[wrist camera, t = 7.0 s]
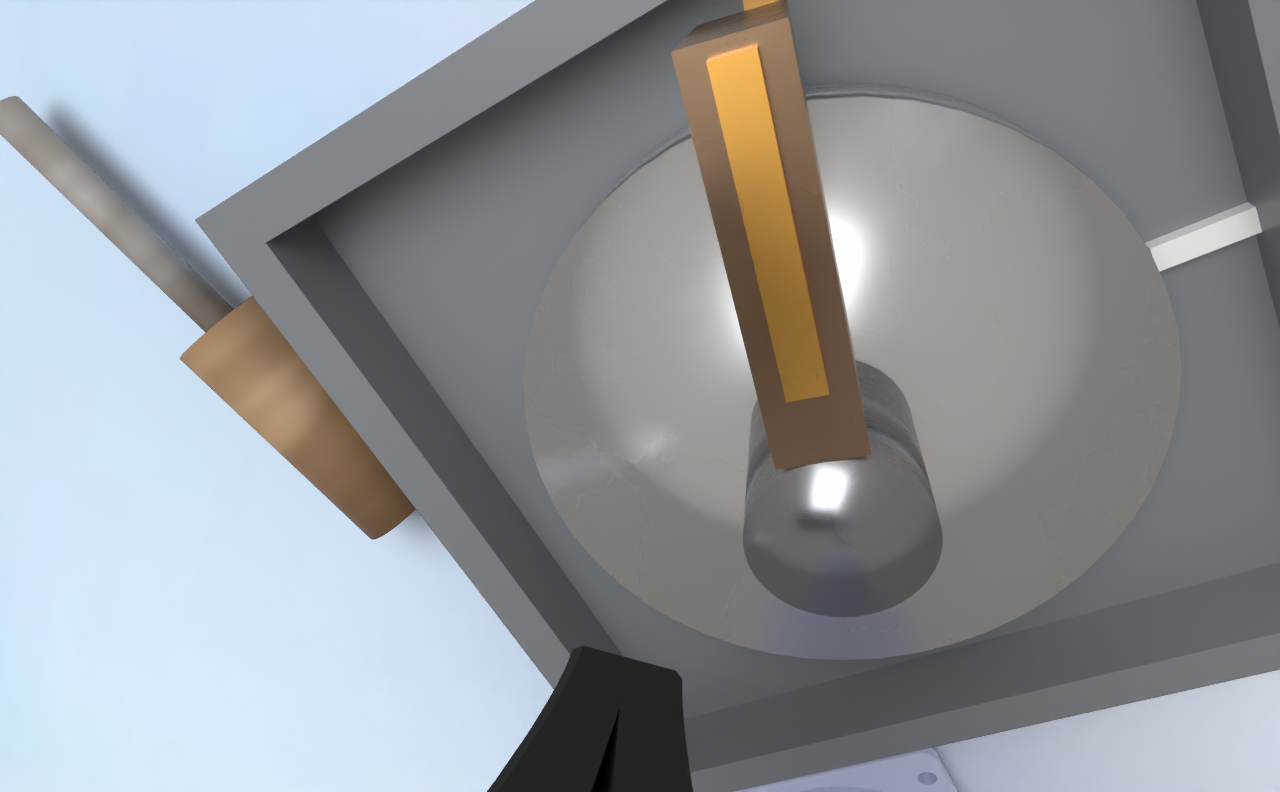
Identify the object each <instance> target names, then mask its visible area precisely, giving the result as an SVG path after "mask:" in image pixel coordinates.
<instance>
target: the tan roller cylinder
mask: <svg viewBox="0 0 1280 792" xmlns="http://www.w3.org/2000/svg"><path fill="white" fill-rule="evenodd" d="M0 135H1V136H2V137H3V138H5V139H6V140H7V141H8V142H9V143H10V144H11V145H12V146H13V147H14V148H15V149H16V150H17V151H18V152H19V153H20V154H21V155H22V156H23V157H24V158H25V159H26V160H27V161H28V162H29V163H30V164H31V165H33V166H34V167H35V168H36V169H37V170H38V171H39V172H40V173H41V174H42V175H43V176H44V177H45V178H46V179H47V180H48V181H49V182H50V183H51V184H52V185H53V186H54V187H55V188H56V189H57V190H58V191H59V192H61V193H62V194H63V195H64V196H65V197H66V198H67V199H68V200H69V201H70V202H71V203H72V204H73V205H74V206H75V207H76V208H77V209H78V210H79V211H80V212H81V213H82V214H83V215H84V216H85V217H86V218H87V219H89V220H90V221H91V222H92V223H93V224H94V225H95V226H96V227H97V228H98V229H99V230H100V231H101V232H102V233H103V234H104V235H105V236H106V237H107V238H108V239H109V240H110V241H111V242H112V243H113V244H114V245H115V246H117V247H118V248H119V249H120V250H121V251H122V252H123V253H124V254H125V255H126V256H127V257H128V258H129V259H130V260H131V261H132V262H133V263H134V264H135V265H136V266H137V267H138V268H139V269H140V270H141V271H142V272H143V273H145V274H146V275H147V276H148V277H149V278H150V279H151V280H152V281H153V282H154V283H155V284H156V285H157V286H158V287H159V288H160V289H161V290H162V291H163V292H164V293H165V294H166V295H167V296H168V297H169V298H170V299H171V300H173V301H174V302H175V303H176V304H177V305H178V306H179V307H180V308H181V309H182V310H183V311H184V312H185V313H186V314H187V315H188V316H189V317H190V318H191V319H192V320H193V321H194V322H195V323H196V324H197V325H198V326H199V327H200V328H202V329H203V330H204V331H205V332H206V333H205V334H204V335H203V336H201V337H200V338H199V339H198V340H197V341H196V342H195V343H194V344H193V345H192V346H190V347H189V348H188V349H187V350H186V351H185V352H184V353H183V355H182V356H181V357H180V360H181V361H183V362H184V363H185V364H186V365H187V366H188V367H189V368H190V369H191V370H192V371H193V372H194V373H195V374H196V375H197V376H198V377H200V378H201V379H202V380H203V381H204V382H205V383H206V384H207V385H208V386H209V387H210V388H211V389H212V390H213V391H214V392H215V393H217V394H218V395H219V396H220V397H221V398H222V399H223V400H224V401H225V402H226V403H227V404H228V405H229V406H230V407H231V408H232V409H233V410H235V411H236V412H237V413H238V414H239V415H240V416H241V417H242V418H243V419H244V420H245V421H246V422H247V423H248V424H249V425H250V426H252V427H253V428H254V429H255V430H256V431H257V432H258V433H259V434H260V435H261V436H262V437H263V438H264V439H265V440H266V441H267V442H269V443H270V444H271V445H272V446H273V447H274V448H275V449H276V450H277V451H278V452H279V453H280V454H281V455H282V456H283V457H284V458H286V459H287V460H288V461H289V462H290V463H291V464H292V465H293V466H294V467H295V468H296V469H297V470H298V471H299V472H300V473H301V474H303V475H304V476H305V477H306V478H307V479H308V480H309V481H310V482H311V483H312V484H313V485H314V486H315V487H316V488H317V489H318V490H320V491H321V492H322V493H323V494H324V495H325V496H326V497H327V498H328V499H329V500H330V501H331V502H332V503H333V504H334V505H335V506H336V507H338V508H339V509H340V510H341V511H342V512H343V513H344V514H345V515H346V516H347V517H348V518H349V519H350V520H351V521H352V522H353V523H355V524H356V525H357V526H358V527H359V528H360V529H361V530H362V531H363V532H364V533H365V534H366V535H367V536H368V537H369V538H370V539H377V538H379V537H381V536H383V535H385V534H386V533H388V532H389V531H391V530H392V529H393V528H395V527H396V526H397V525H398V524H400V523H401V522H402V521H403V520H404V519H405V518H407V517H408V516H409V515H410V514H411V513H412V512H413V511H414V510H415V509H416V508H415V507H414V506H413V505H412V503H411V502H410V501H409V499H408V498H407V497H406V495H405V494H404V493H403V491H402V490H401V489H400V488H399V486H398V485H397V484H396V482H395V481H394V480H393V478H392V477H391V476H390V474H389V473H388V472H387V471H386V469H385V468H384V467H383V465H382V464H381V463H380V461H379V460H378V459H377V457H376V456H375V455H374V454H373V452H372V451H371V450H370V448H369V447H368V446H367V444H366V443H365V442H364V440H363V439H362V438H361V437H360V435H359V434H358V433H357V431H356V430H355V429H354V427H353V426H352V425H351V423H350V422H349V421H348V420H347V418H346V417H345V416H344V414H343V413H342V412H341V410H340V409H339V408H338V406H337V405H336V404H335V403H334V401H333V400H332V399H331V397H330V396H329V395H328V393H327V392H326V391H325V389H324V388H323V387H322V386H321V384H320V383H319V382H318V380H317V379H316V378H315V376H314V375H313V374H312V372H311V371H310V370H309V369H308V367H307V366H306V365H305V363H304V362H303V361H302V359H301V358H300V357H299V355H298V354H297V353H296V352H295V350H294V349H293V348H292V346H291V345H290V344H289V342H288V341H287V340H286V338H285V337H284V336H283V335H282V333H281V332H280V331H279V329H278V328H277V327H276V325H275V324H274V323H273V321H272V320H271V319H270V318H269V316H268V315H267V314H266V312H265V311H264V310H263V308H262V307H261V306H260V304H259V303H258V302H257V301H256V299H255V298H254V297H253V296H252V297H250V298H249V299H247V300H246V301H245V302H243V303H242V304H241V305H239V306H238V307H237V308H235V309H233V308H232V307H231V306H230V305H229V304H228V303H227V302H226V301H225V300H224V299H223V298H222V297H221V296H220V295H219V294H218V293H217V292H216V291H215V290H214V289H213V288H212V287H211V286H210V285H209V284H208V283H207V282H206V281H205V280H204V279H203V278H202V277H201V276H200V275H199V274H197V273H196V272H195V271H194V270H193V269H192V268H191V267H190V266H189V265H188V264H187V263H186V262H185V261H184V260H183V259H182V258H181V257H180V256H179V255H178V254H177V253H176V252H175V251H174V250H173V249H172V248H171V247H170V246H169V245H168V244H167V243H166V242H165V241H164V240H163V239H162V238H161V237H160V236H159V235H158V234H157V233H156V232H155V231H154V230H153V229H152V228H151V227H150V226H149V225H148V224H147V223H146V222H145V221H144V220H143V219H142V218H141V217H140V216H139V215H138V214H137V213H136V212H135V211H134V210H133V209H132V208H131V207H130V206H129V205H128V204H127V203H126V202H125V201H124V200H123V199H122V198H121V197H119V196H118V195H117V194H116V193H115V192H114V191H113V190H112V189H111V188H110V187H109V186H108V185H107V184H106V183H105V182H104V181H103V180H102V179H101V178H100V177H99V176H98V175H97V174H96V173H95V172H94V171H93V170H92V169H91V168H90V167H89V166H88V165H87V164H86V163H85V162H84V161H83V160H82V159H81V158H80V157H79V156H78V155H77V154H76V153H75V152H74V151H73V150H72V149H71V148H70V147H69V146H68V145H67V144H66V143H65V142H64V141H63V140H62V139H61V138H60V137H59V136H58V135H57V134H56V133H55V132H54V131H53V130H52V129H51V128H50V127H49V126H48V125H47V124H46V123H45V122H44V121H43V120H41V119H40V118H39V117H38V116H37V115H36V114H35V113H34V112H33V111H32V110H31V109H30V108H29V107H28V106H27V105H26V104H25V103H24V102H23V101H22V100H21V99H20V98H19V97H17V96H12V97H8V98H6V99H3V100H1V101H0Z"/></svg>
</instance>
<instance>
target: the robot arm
mask: <svg viewBox="0 0 1280 792" xmlns="http://www.w3.org/2000/svg"><path fill="white" fill-rule="evenodd" d="M487 792H693V787H692V781H691V774H690V767H689V760H688V753H687V745H686V736H685V727H684V715H683V698H682V678H681V677H680V675H679V674H678V672H677V671H675V670H672V669H668V668H664V667H661V666H657V665H653V664H650V663H646V662H642V661H639V660H635V659H631V658H628V657H624V656H620V655H616V654H613V653H609V652H605V651H602V650H598V649H594V648H591V647H587V646H580V647H578V648H575V649H573V650H572V653H571V655H570V658H569V660H568V663H567V665H566V667H565V670H564V672H563V674H562V676H561V678H560V680H559V682H558V684H557V685H556V687H555V689H554V691H553V693H552V695H551V696H550V698H549V700H548V702H547V703H546V705H545V707H544V708H543V710H542V712H541V713H540V715H539V716H538V718H537V720H536V721H535V723H534V725H533V726H532V728H531V729H530V731H529V732H528V734H527V735H526V737H525V738H524V740H523V741H522V743H521V744H520V746H519V747H518V748H517V750H516V751H515V753H514V754H513V756H512V757H511V759H510V760H509V762H508V763H507V764H506V766H505V767H504V769H503V770H502V772H501V773H500V775H499V776H498V777H497V779H496V780H495V782H494V783H493V784H492V786H491V787H490V788H489V790H488V791H487ZM735 792H958V791H957V789H956V787H955V785H954V783H953V782H952V780H951V778H950V776H949V774H948V772H947V771H946V769H945V767H944V765H943V763H942V761H941V760H940V758H939V756H938V754H937V752H936V751H935V750H934V749H933V748H927V749H923V750H918V751H914V752H909V753H905V754H900V755H896V756H892V757H887V758H883V759H878V760H874V761H869V762H865V763H860V764H856V765H851V766H847V767H842V768H838V769H834V770H829V771H825V772H820V773H816V774H811V775H807V776H802V777H798V778H793V779H789V780H784V781H780V782H775V783H771V784H767V785H762V786H758V787H753V788H749V789H744V790H740V791H735Z"/></svg>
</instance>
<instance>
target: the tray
mask: <svg viewBox="0 0 1280 792" xmlns="http://www.w3.org/2000/svg"><path fill="white" fill-rule="evenodd" d="M776 1H780V0H535V1H534V2H532V3H531V4H529V5H527V6H526V7H524V8H523V9H521V10H520V11H518V12H517V13H515V14H514V15H512V16H510V17H509V18H507V19H506V20H504V21H503V22H501V23H500V24H498V25H496V26H495V27H493V28H492V29H490V30H489V31H487V32H486V33H484V34H482V35H481V36H479V37H478V38H476V39H475V40H473V41H472V42H470V43H469V44H467V45H465V46H464V47H462V48H461V49H459V50H458V51H456V52H455V53H453V54H451V55H450V56H448V57H447V58H445V59H444V60H442V61H441V62H439V63H437V64H436V65H434V66H433V67H431V68H430V69H428V70H427V71H425V72H424V73H422V74H420V75H419V76H417V77H416V78H414V79H413V80H411V81H410V82H408V83H406V84H405V85H403V86H402V87H400V88H399V89H397V90H396V91H394V92H393V93H391V94H389V95H388V96H386V97H385V98H383V99H382V100H380V101H379V102H377V103H375V104H374V105H372V106H371V107H369V108H368V109H366V110H365V111H363V112H361V113H360V114H358V115H357V116H355V117H354V118H352V119H351V120H349V121H348V122H346V123H344V124H343V125H341V126H340V127H338V128H337V129H335V130H334V131H332V132H330V133H329V134H327V135H326V136H324V137H323V138H321V139H320V140H318V141H316V142H315V143H313V144H312V145H310V146H309V147H307V148H306V149H304V150H303V151H301V152H299V153H298V154H296V155H295V156H293V157H292V158H290V159H289V160H287V161H285V162H284V163H282V164H281V165H279V166H278V167H276V168H275V169H273V170H271V171H270V172H268V173H267V174H265V175H264V176H262V177H261V178H259V179H258V180H256V181H254V182H253V183H251V184H250V185H248V186H247V187H245V188H244V189H242V190H240V191H239V192H237V193H236V194H234V195H233V196H231V197H230V198H228V199H226V200H225V201H223V202H222V203H220V204H219V205H217V206H216V207H214V208H213V209H211V210H209V211H208V212H206V213H205V214H203V215H202V216H200V217H199V218H197V219H195V221H196V222H197V223H198V225H199V226H200V227H201V229H202V230H203V231H204V233H205V234H206V235H207V236H208V238H209V239H210V240H211V242H212V243H213V244H214V246H215V247H216V248H217V250H218V251H219V252H220V253H221V255H222V256H223V257H224V259H225V260H226V261H227V263H228V264H229V265H230V267H231V268H232V269H233V270H234V272H235V273H236V274H237V276H238V277H239V278H240V280H241V281H242V282H243V284H244V285H245V286H246V287H247V289H248V290H249V291H250V293H251V294H252V295H253V297H254V298H255V299H256V301H257V302H258V303H259V304H260V306H261V307H262V308H263V310H264V311H265V312H266V314H267V315H268V316H269V318H270V319H271V320H272V321H273V323H274V324H275V325H276V327H277V328H278V329H279V331H280V332H281V333H282V335H283V336H284V337H285V338H286V340H287V341H288V342H289V344H290V345H291V346H292V348H293V349H294V350H295V352H296V353H297V354H298V355H299V357H300V358H301V359H302V361H303V362H304V363H305V365H306V366H307V367H308V369H309V370H310V371H311V372H312V374H313V375H314V376H315V378H316V379H317V380H318V382H319V383H320V384H321V386H322V387H323V388H324V389H325V391H326V392H327V393H328V395H329V396H330V397H331V399H332V400H333V401H334V403H335V404H336V405H337V406H338V408H339V409H340V410H341V412H342V413H343V414H344V416H345V417H346V418H347V420H348V421H349V422H350V423H351V425H352V426H353V427H354V429H355V430H356V431H357V433H358V434H359V435H360V437H361V438H362V439H363V440H364V442H365V443H366V444H367V446H368V447H369V448H370V450H371V451H372V452H373V454H374V455H375V456H376V457H377V459H378V460H379V461H380V463H381V464H382V465H383V467H384V468H385V469H386V471H387V472H388V473H389V474H390V476H391V477H392V478H393V480H394V481H395V482H396V484H397V485H398V486H399V488H400V489H401V490H402V491H403V493H404V494H405V495H406V497H407V498H408V499H409V501H410V502H411V503H412V505H413V506H414V507H415V508H416V510H417V511H418V512H419V514H420V515H421V516H422V518H423V519H424V520H425V522H426V523H427V524H428V525H429V527H430V528H431V529H432V531H433V532H434V533H435V535H436V536H437V537H438V539H439V540H440V541H441V542H442V544H443V545H444V546H445V548H446V549H447V550H448V552H449V553H450V554H451V556H452V557H453V558H454V559H455V561H456V562H457V563H458V565H459V566H460V567H461V569H462V570H463V571H464V573H465V574H466V575H467V576H468V578H469V579H470V580H471V582H472V583H473V584H474V586H475V587H476V588H477V590H478V591H479V592H480V593H481V595H482V596H483V597H484V599H485V600H486V601H487V603H488V604H489V605H490V607H491V608H492V609H493V610H494V612H495V613H496V614H497V616H498V617H499V618H500V620H501V621H502V622H503V624H504V625H505V626H506V627H507V629H508V630H509V631H510V633H511V634H512V635H513V637H514V638H515V639H516V640H517V642H518V643H519V644H520V646H521V647H522V648H523V650H524V651H525V652H526V654H527V655H528V656H529V657H530V659H531V660H532V661H533V663H534V664H535V665H536V667H537V668H538V669H539V671H540V672H541V673H542V674H543V676H544V677H545V678H546V680H547V681H548V682H549V684H550V685H551V686H552V688H553V689H555V687H556V685H557V684H558V682H559V680H560V678H561V676H562V674H563V672H564V670H565V667H566V665H567V663H568V660H569V658H570V655H571V653H572V650H573V649H575V648H578V647H580V646H587V647H591V648H594V649H598V650H602V651H605V652H609V653H613V654H616V655H620V656H624V657H628V658H631V659H635V660H639V661H642V662H646V663H650V664H653V665H657V666H661V667H664V668H668V669H672V670H675V671H677V672H678V674H679V675H680V677H681V678H682V698H683V715H684V727H685V736H686V745H687V753H688V760H689V767H690V774H691V781H692V787H693V792H735V791H740V790H744V789H749V788H753V787H758V786H762V785H767V784H771V783H775V782H780V781H784V780H789V779H793V778H798V777H802V776H807V775H811V774H816V773H820V772H825V771H829V770H834V769H838V768H842V767H847V766H851V765H856V764H860V763H865V762H869V761H874V760H878V759H883V758H887V757H892V756H896V755H900V754H905V753H909V752H914V751H918V750H923V749H927V748H932V747H936V746H941V745H945V744H950V743H954V742H959V741H963V740H967V739H972V738H976V737H981V736H985V735H990V734H994V733H999V732H1003V731H1008V730H1012V729H1017V728H1021V727H1025V726H1030V725H1034V724H1039V723H1043V722H1048V721H1052V720H1057V719H1061V718H1066V717H1070V716H1075V715H1079V714H1083V713H1088V712H1092V711H1097V710H1101V709H1106V708H1110V707H1115V706H1119V705H1124V704H1128V703H1133V702H1137V701H1142V700H1146V699H1150V698H1155V697H1159V696H1164V695H1168V694H1173V693H1177V692H1182V691H1186V690H1191V689H1195V688H1200V687H1204V686H1208V685H1213V684H1217V683H1222V682H1226V681H1231V680H1235V679H1240V678H1244V677H1249V676H1253V675H1258V674H1262V673H1267V672H1271V671H1275V670H1280V0H788V5H789V10H790V16H791V21H792V26H793V32H794V37H795V42H796V47H797V53H798V58H799V63H800V69H801V74H802V79H803V84H804V87H805V86H811V85H826V84H841V83H870V84H884V85H899V86H906V87H911V88H915V89H920V90H925V91H930V92H934V93H939V94H944V95H948V96H951V97H954V98H956V99H959V100H962V101H965V102H967V103H970V104H973V105H976V106H978V107H981V108H984V109H987V110H989V111H991V112H993V113H995V114H997V115H999V116H1001V117H1003V118H1004V119H1006V120H1008V121H1010V122H1012V123H1014V124H1015V125H1017V126H1019V127H1021V128H1023V129H1025V130H1027V131H1028V132H1030V133H1031V134H1033V135H1034V136H1035V137H1037V138H1038V139H1039V140H1041V141H1042V142H1043V143H1044V144H1046V145H1047V146H1048V147H1050V148H1051V149H1052V150H1054V151H1055V152H1056V153H1058V154H1059V155H1060V156H1062V157H1063V158H1064V159H1066V160H1067V161H1068V162H1069V163H1071V164H1072V165H1073V166H1074V167H1076V168H1077V169H1078V170H1080V171H1081V172H1082V173H1083V174H1085V175H1086V176H1087V177H1088V178H1090V179H1091V180H1092V181H1093V182H1094V183H1095V184H1096V185H1097V186H1098V187H1099V188H1100V189H1101V190H1102V191H1103V192H1104V193H1105V194H1106V195H1107V196H1108V197H1109V198H1110V199H1111V200H1112V201H1113V202H1114V204H1115V205H1116V206H1117V207H1118V208H1119V209H1120V210H1121V211H1122V212H1123V213H1124V214H1125V215H1126V217H1127V218H1128V220H1129V221H1130V223H1131V224H1132V226H1133V227H1134V228H1135V230H1136V231H1137V233H1138V234H1139V236H1140V237H1141V239H1142V240H1143V242H1144V243H1145V245H1146V246H1147V248H1148V249H1149V250H1150V252H1151V255H1152V257H1153V259H1154V261H1155V263H1156V265H1157V268H1158V270H1159V272H1160V274H1161V276H1162V279H1163V281H1164V283H1165V285H1166V287H1167V290H1168V293H1169V297H1170V301H1171V304H1172V308H1173V312H1174V316H1175V320H1176V323H1177V327H1178V333H1179V344H1180V356H1181V367H1182V373H1181V386H1180V398H1179V410H1178V414H1177V418H1176V422H1175V426H1174V430H1173V435H1172V439H1171V443H1170V447H1169V450H1168V452H1167V454H1166V457H1165V459H1164V462H1163V464H1162V466H1161V469H1160V471H1159V474H1158V476H1157V479H1156V481H1155V483H1154V485H1153V487H1152V488H1151V490H1150V492H1149V494H1148V495H1147V497H1146V499H1145V500H1144V502H1143V504H1142V505H1141V507H1140V509H1139V510H1138V512H1137V514H1136V515H1135V517H1134V518H1133V519H1132V521H1131V522H1130V523H1129V525H1128V526H1127V527H1126V528H1125V530H1124V531H1123V532H1122V533H1121V535H1120V536H1119V537H1118V538H1117V540H1116V541H1115V542H1114V543H1113V545H1112V546H1111V547H1110V548H1109V549H1108V550H1107V551H1106V552H1105V553H1104V554H1103V555H1102V556H1101V557H1100V558H1099V559H1098V560H1097V561H1096V562H1095V563H1094V564H1093V565H1092V566H1091V567H1090V568H1089V569H1088V570H1087V571H1086V572H1085V573H1083V574H1082V575H1081V576H1080V577H1078V578H1077V579H1076V580H1074V581H1073V582H1072V583H1070V584H1069V585H1068V586H1067V587H1065V588H1064V589H1063V590H1061V591H1060V592H1059V593H1057V594H1056V595H1055V596H1054V597H1052V598H1050V599H1049V600H1047V601H1045V602H1044V603H1042V604H1040V605H1039V606H1037V607H1035V608H1034V609H1032V610H1030V611H1029V612H1027V613H1026V614H1024V615H1022V616H1020V617H1018V618H1016V619H1014V620H1012V621H1010V622H1008V623H1006V624H1003V625H1001V626H999V627H997V628H995V629H993V630H991V631H988V632H986V633H983V634H980V635H978V636H975V637H972V638H969V639H966V640H963V641H960V642H957V643H955V644H952V645H948V646H944V647H939V648H935V649H931V650H927V651H923V652H919V653H914V654H907V655H900V656H893V657H886V658H879V659H858V660H828V659H807V658H800V657H793V656H786V655H779V654H772V653H767V652H763V651H759V650H755V649H751V648H747V647H742V646H738V645H735V644H732V643H729V642H726V641H724V640H721V639H718V638H715V637H712V636H709V635H706V634H704V633H702V632H699V631H697V630H695V629H693V628H691V627H689V626H686V625H684V624H682V623H680V622H678V621H676V620H674V619H672V618H670V617H668V616H667V615H665V614H663V613H662V612H660V611H658V610H657V609H655V608H653V607H652V606H650V605H648V604H647V603H645V602H644V601H642V600H641V599H640V598H638V597H637V596H636V595H634V594H633V593H632V592H630V591H629V590H628V589H626V588H625V587H624V586H622V585H621V584H620V583H618V582H617V581H616V580H615V579H614V578H613V577H612V576H611V575H610V574H609V573H608V572H606V571H605V570H604V569H603V568H602V567H601V566H600V565H599V564H598V563H597V562H596V561H595V560H594V559H593V558H592V557H591V556H590V554H589V553H588V552H587V551H586V550H585V548H584V547H583V546H582V545H581V544H580V543H579V541H578V540H577V539H576V538H575V537H574V535H573V534H572V533H571V531H570V530H569V528H568V526H567V525H566V523H565V522H564V520H563V519H562V517H561V516H560V514H559V513H558V511H557V509H556V508H555V506H554V504H553V502H552V500H551V498H550V496H549V494H548V492H547V490H546V487H545V485H544V483H543V481H542V479H541V477H540V474H539V471H538V468H537V465H536V462H535V459H534V455H533V452H532V449H531V446H530V442H529V436H528V430H527V424H526V418H525V412H524V383H523V375H524V366H525V358H526V350H527V341H528V337H529V334H530V330H531V326H532V323H533V319H534V315H535V312H536V308H537V305H538V302H539V300H540V298H541V296H542V293H543V291H544V289H545V286H546V284H547V282H548V280H549V277H550V275H551V273H552V271H553V269H554V267H555V265H556V264H557V262H558V261H559V259H560V257H561V256H562V254H563V253H564V251H565V250H566V248H567V246H568V245H569V243H570V242H571V240H572V238H573V237H574V235H575V234H576V232H577V231H578V229H579V228H580V227H581V225H582V224H583V222H584V221H585V219H586V218H587V217H588V215H589V214H590V212H591V211H592V210H593V208H594V207H595V206H596V205H597V204H598V202H599V201H600V200H601V199H602V198H603V197H604V195H605V194H606V193H607V192H608V191H609V189H610V188H611V187H612V186H613V185H614V183H615V182H616V181H617V180H618V179H619V178H620V177H621V176H622V175H624V174H625V173H626V172H627V171H628V170H629V169H630V168H631V167H632V166H634V165H635V164H636V163H637V162H638V161H639V160H640V159H641V158H642V157H644V156H645V155H646V154H647V153H648V152H650V151H651V150H653V149H654V148H655V147H657V146H658V145H660V144H661V143H663V142H664V141H666V140H667V139H669V138H670V137H672V136H673V135H675V134H676V133H678V132H679V131H680V130H682V129H684V128H686V127H688V126H689V123H688V119H687V115H686V111H685V107H684V103H683V99H682V95H681V91H680V87H679V83H678V79H677V75H676V71H675V67H674V63H673V59H672V55H671V51H672V50H673V49H674V48H675V47H676V46H677V45H678V44H679V43H680V42H681V41H682V40H683V39H684V38H685V37H686V36H687V35H688V34H689V33H690V32H691V31H692V30H693V29H694V28H695V27H696V26H697V25H700V24H703V23H706V22H710V21H713V20H716V19H720V18H723V17H726V16H730V15H733V14H736V13H740V12H743V11H746V10H750V9H753V8H756V7H760V6H763V5H766V4H770V3H773V2H776Z"/></svg>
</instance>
